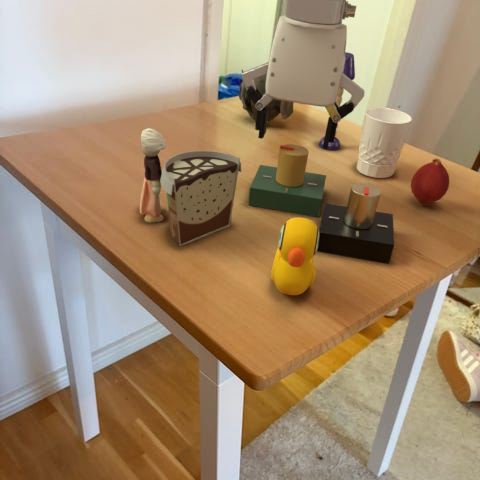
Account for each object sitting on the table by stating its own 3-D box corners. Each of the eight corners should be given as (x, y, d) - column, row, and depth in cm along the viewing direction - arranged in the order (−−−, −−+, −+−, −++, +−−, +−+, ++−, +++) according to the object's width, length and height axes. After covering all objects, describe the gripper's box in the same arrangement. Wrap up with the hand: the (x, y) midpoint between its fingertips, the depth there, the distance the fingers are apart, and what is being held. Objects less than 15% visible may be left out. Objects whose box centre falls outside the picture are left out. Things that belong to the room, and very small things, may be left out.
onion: (412, 193, 90) (427, 147, 85) (445, 204, 88) (462, 158, 83) (400, 204, 86) (414, 157, 81) (433, 216, 84) (450, 169, 79)
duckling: (309, 321, 61) (325, 247, 55) (263, 313, 61) (274, 239, 55) (314, 267, 70) (328, 198, 63) (273, 261, 70) (283, 192, 64)
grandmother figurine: (133, 206, 79) (129, 120, 71) (159, 203, 80) (157, 118, 72) (146, 231, 73) (143, 142, 65) (173, 228, 75) (173, 139, 67)
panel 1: (323, 192, 88) (326, 174, 86) (318, 217, 81) (322, 198, 79) (258, 181, 89) (260, 163, 87) (248, 205, 82) (250, 186, 80)
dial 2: (344, 213, 76) (352, 178, 73) (372, 217, 76) (381, 183, 72) (343, 226, 73) (351, 191, 69) (372, 231, 72) (382, 196, 69)
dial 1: (304, 177, 84) (310, 144, 81) (301, 188, 81) (307, 155, 78) (277, 172, 85) (282, 140, 82) (273, 184, 82) (278, 150, 78)
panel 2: (387, 232, 79) (393, 212, 77) (388, 263, 72) (394, 243, 70) (321, 220, 80) (325, 201, 78) (316, 251, 73) (320, 230, 71)
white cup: (364, 158, 101) (377, 104, 94) (402, 171, 97) (418, 116, 91) (345, 170, 96) (357, 114, 89) (385, 184, 92) (401, 126, 86)
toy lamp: (312, 143, 104) (327, 51, 94) (327, 139, 107) (344, 49, 96) (330, 152, 102) (348, 58, 91) (345, 147, 104) (365, 55, 94)
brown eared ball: (273, 135, 106) (280, 80, 100) (224, 119, 111) (227, 67, 104) (297, 122, 113) (304, 71, 107) (249, 108, 118) (254, 58, 111)
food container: (208, 207, 81) (212, 142, 74) (237, 223, 77) (242, 157, 71) (142, 231, 73) (140, 162, 67) (170, 250, 70) (170, 179, 64)
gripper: (381, 15, 70) (352, 141, 81) (254, -3, 72) (242, 123, 83) (381, 25, 64) (350, 160, 75) (243, 5, 66) (232, 140, 77)
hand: (293, 140), depth 79 cm, fingers open, 9 cm apart
